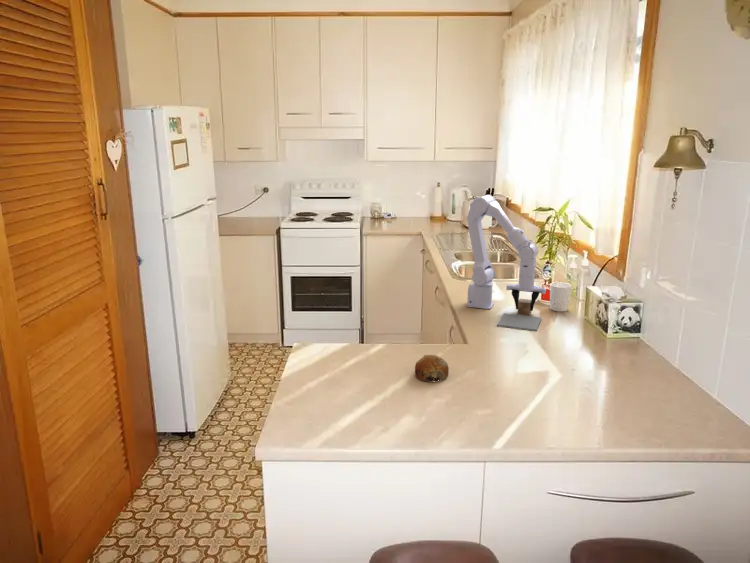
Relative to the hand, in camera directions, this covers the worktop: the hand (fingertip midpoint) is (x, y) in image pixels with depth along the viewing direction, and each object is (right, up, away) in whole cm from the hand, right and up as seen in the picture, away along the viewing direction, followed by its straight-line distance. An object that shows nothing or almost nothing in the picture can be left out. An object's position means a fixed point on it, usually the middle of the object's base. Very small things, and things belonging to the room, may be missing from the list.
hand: (524, 309), depth 219 cm
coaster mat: (-5, -4, -10) cm, 12 cm away
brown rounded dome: (-42, -17, -54) cm, 70 cm away
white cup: (+15, 0, +5) cm, 16 cm away
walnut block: (0, -1, 0) cm, 2 cm away
